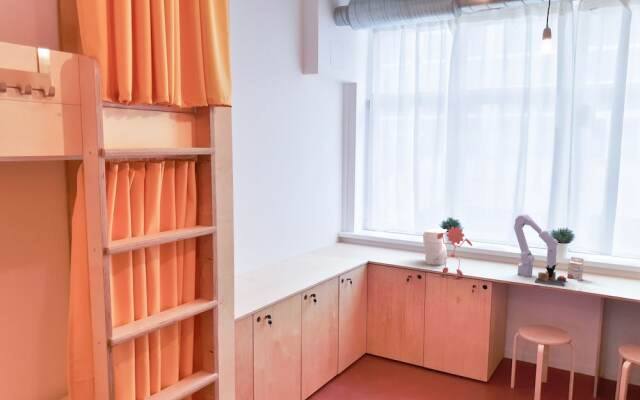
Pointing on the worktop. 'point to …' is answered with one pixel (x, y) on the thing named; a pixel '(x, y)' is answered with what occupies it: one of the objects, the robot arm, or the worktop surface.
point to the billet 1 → (543, 276)
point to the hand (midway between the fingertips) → (550, 276)
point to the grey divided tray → (551, 282)
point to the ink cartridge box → (575, 268)
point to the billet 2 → (552, 276)
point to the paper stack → (434, 247)
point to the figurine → (455, 237)
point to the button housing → (561, 279)
